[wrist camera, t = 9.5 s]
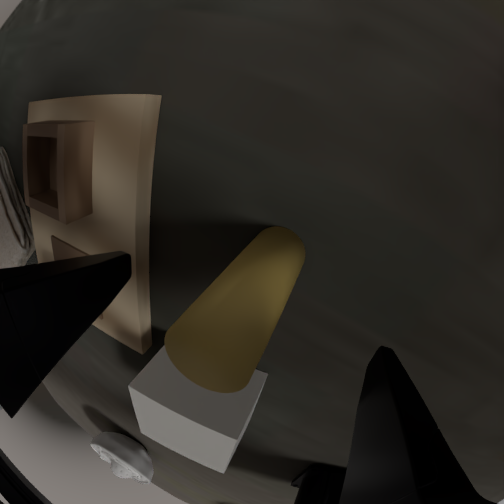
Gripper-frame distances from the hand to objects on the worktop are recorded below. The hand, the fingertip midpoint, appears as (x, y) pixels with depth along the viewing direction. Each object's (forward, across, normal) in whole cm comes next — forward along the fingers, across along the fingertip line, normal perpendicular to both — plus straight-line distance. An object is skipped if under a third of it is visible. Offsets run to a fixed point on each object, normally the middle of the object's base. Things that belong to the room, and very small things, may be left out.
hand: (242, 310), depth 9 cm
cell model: (+5, +13, +37) cm, 39 cm away
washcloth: (+5, +30, +7) cm, 32 cm away
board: (+4, +13, +2) cm, 14 cm away
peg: (+4, 0, 0) cm, 5 cm away
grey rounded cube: (+4, +2, +11) cm, 12 cm away
